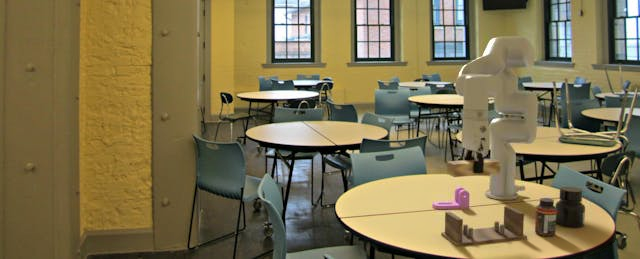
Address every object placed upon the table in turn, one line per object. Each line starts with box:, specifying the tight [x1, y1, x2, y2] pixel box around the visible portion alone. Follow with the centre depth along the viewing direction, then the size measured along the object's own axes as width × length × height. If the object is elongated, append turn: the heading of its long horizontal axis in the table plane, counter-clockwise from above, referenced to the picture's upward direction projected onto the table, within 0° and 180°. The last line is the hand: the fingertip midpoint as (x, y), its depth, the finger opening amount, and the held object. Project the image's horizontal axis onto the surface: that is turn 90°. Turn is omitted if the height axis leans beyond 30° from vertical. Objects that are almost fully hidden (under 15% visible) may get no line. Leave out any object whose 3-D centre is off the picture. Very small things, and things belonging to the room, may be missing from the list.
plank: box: [446, 158, 500, 178], centre depth 164 cm, size 16×5×4 cm, turn 103°
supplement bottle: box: [534, 197, 557, 237], centre depth 161 cm, size 6×6×11 cm
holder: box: [440, 205, 528, 247], centre depth 159 cm, size 24×10×8 cm, turn 104°
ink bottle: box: [554, 186, 586, 228], centre depth 170 cm, size 10×9×12 cm
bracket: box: [432, 186, 470, 210], centre depth 192 cm, size 13×6×7 cm, turn 93°
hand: (473, 170), depth 164 cm, fingers closed on plank, 5 cm apart
